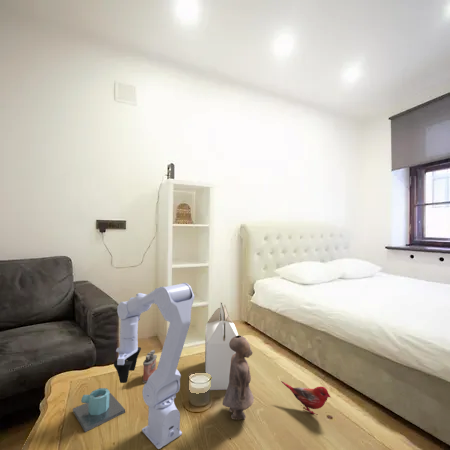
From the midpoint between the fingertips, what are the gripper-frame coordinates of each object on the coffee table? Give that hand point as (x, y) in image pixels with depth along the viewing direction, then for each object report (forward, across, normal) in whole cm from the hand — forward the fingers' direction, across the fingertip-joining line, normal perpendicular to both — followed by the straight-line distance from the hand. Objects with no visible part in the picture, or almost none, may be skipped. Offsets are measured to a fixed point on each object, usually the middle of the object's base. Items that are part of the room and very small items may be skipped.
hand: (127, 376), depth 89 cm
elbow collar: (+8, +4, -9) cm, 13 cm away
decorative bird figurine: (+10, +3, +60) cm, 61 cm away
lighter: (+10, -16, +4) cm, 19 cm away
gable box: (+10, -19, +32) cm, 39 cm away
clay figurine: (+10, +5, +38) cm, 39 cm away
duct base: (+9, +4, -8) cm, 13 cm away
